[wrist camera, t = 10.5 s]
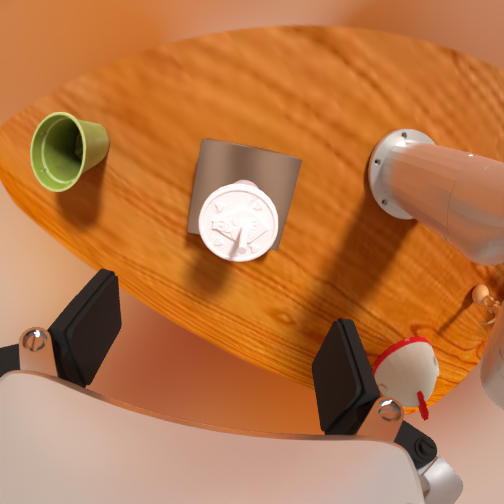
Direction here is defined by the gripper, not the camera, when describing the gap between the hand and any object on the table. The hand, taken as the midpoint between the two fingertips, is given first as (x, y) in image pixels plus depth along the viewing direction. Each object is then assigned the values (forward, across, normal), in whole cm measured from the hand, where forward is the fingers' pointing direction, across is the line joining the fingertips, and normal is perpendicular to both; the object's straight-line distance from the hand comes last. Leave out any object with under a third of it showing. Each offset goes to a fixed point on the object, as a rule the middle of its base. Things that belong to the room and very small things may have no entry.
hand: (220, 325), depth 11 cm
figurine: (+26, -46, +6) cm, 54 cm away
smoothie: (+21, 0, 0) cm, 21 cm away
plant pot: (+25, +22, -3) cm, 34 cm away
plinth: (+25, 0, 0) cm, 25 cm away
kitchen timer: (+26, -38, +26) cm, 53 cm away
